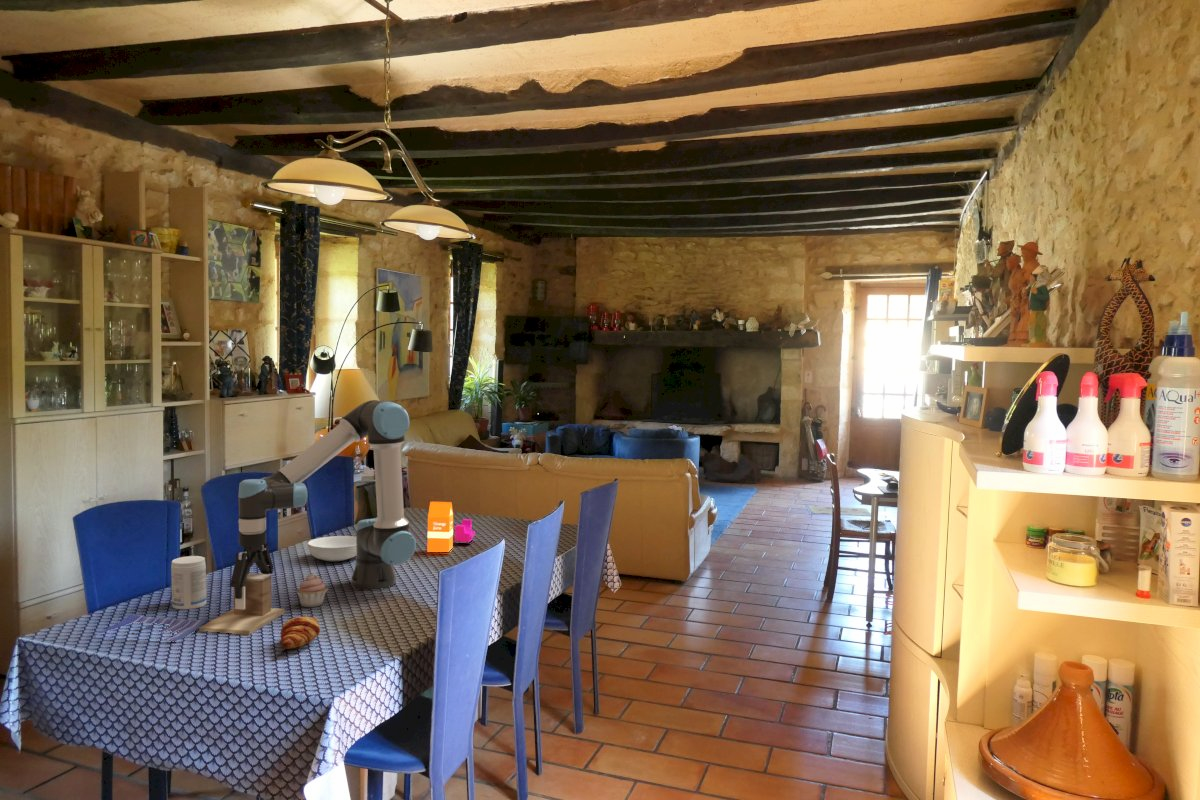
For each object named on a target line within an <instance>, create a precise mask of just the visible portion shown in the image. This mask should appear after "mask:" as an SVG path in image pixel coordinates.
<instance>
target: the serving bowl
mask: <svg viewBox="0 0 1200 800" xmlns="http://www.w3.org/2000/svg"><path fill="white" fill-rule="evenodd" d="M307 547H308V551H309V553H310V554H311V556H312V557H314V558H315V559H318V560H322V561H326V562H341V561H346V560H348V559H352V558H354V557H357V541H356V536H352V535H335V536H333V535H331V536H324V537H317V538H314V539H311V540H309V541H308V542H307Z"/></svg>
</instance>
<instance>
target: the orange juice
mask: <svg viewBox="0 0 1200 800" xmlns="http://www.w3.org/2000/svg"><path fill="white" fill-rule="evenodd" d="M453 538H454V511H453V504H452V501H430V502H429V509H428V515H427V550H426V551H427V552H449V551H450V550H451V549H452V548H453V549H454V546H453V545H454V544H453V543H454V539H453ZM453 549H452V550H453ZM452 550H451V551H452ZM451 551H450V552H451Z"/></svg>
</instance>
